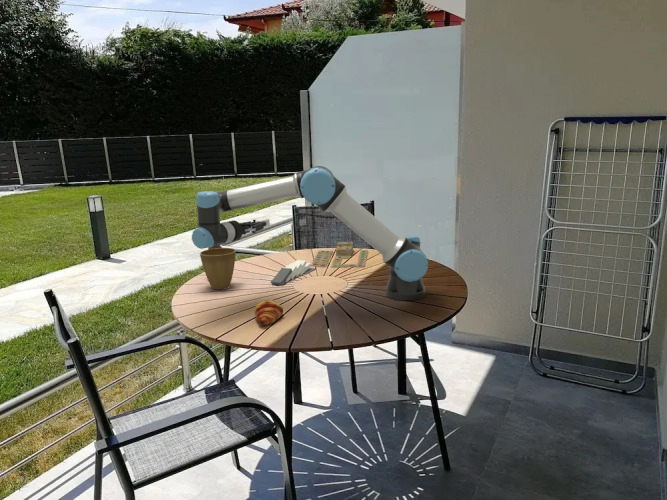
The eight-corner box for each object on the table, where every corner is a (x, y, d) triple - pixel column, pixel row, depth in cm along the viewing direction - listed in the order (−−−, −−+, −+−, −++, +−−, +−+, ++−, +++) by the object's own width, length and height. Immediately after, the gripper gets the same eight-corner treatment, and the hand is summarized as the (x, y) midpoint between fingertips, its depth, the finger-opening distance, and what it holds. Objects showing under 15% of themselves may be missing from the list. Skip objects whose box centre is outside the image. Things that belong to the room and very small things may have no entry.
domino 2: (286, 279, 223) (296, 265, 230) (276, 279, 226) (286, 265, 233) (287, 282, 224) (297, 268, 231) (277, 281, 226) (287, 267, 233)
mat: (306, 274, 236) (306, 273, 236) (291, 272, 239) (291, 272, 239) (315, 269, 244) (315, 268, 243) (301, 267, 247) (301, 267, 247)
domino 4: (296, 274, 231) (305, 260, 238) (286, 273, 233) (296, 259, 240) (297, 277, 231) (306, 263, 238) (287, 276, 234) (297, 262, 241)
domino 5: (300, 272, 234) (310, 262, 242) (291, 271, 236) (301, 262, 244) (301, 275, 235) (311, 265, 243) (291, 274, 237) (302, 265, 245)
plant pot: (225, 294, 213) (221, 256, 209) (196, 291, 219) (192, 254, 215) (245, 283, 226) (242, 248, 222) (218, 281, 232) (214, 246, 228)
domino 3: (291, 277, 227) (301, 263, 234) (281, 276, 229) (291, 262, 236) (292, 279, 228) (302, 265, 235) (282, 279, 230) (292, 265, 237)
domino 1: (280, 282, 219) (291, 268, 227) (270, 281, 222) (281, 267, 229) (281, 285, 220) (292, 271, 227) (271, 284, 223) (282, 270, 230)
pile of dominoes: (318, 252, 280) (317, 242, 278) (368, 251, 276) (368, 241, 275) (308, 269, 246) (307, 258, 245) (364, 268, 243) (364, 257, 241)
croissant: (267, 316, 194) (256, 298, 193) (289, 303, 193) (278, 286, 192) (256, 337, 174) (244, 318, 172) (282, 323, 172) (269, 303, 171)
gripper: (216, 240, 194) (256, 230, 214) (242, 243, 188) (281, 232, 208) (214, 220, 193) (255, 212, 213) (241, 223, 186) (280, 214, 206)
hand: (268, 222), depth 210 cm, fingers closed
